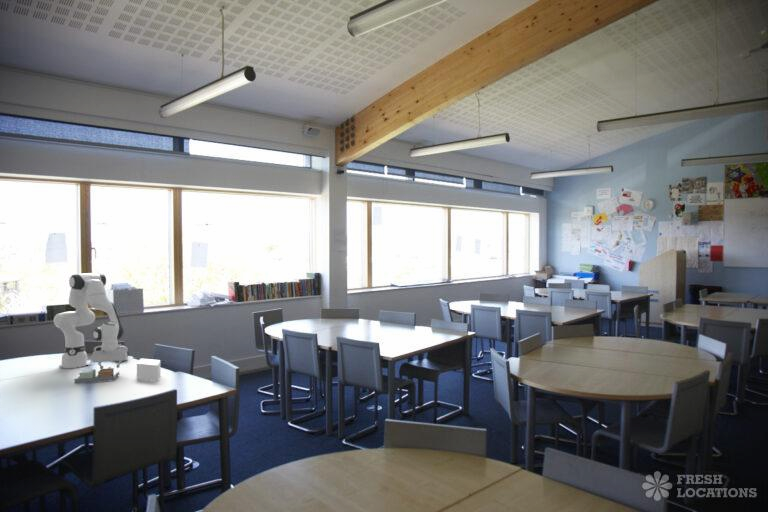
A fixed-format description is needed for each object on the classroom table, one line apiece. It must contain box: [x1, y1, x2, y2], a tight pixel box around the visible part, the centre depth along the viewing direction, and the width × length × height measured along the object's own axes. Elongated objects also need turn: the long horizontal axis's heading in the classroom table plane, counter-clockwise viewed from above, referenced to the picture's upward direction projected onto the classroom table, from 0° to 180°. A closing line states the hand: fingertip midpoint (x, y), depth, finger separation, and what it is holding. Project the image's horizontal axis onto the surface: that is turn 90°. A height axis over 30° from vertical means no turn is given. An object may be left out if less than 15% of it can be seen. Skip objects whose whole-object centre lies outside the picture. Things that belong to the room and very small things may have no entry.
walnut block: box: [97, 366, 115, 377], centre depth 302 cm, size 15×7×6 cm, turn 19°
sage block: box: [79, 368, 97, 379], centre depth 296 cm, size 8×7×6 cm
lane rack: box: [74, 371, 120, 384], centre depth 300 cm, size 15×22×2 cm
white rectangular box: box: [136, 357, 161, 382], centre depth 304 cm, size 14×29×10 cm, turn 46°
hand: (109, 368), depth 308 cm, fingers open, 8 cm apart
